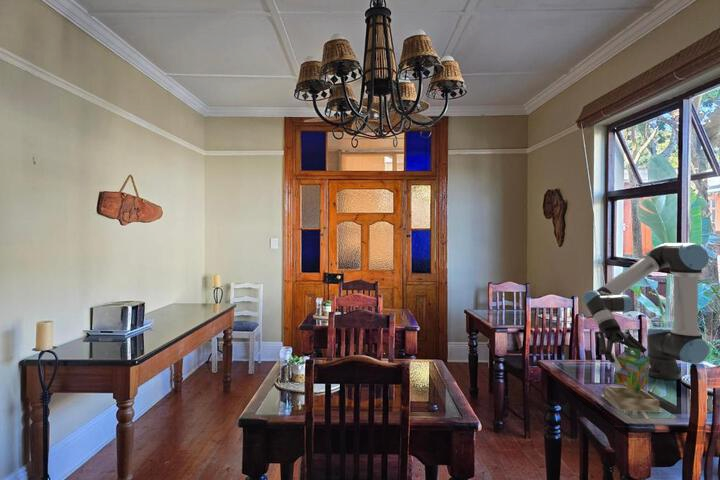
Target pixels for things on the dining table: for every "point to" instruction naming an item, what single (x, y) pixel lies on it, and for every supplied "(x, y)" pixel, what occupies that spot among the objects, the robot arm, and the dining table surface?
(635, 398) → the mat
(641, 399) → the tray
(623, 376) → the chalk box
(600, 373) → the dining table surface
